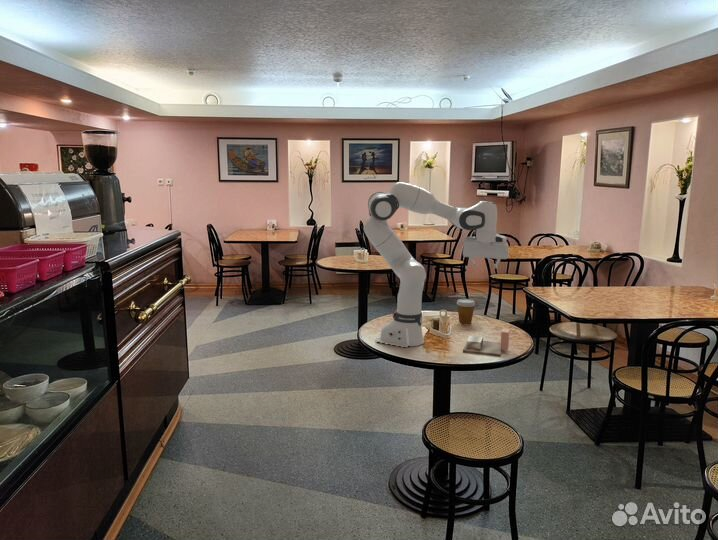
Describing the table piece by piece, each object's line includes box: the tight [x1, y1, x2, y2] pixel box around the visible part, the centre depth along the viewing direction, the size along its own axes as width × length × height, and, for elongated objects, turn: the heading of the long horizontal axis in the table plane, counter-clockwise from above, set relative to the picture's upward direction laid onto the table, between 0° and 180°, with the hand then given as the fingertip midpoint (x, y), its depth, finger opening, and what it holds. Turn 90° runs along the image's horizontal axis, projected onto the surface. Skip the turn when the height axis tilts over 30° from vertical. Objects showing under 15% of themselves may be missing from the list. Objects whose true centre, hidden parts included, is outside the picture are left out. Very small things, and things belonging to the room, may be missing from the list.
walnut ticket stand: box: [462, 335, 503, 357], centre depth 229 cm, size 16×16×4 cm
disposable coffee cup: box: [456, 298, 476, 325], centre depth 268 cm, size 10×10×12 cm
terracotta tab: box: [500, 328, 510, 351], centre depth 225 cm, size 3×5×8 cm, turn 160°
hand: (484, 267), depth 233 cm, fingers open, 8 cm apart
